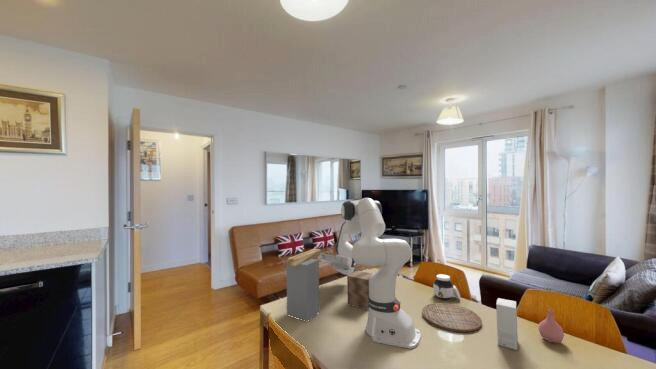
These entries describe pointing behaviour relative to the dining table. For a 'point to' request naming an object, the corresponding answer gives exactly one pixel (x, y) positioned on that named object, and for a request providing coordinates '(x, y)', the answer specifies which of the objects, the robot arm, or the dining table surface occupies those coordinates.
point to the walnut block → (358, 288)
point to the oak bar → (304, 257)
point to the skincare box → (507, 323)
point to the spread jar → (444, 288)
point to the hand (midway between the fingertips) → (328, 255)
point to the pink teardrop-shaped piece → (551, 329)
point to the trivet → (452, 318)
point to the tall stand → (303, 289)
